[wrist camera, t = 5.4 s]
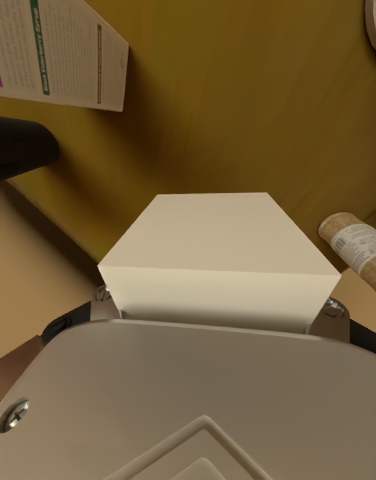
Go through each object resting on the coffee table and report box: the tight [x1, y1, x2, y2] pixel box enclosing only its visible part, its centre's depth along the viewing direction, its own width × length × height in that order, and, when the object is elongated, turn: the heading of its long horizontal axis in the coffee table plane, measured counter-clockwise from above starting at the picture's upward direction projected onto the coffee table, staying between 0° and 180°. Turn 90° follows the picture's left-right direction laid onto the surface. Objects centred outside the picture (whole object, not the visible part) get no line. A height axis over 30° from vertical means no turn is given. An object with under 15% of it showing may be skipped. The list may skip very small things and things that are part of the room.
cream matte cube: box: [98, 193, 342, 334], centre depth 11 cm, size 8×8×8 cm
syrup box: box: [0, 0, 129, 112], centre depth 11 cm, size 6×6×14 cm
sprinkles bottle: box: [318, 212, 376, 291], centre depth 18 cm, size 5×5×14 cm
